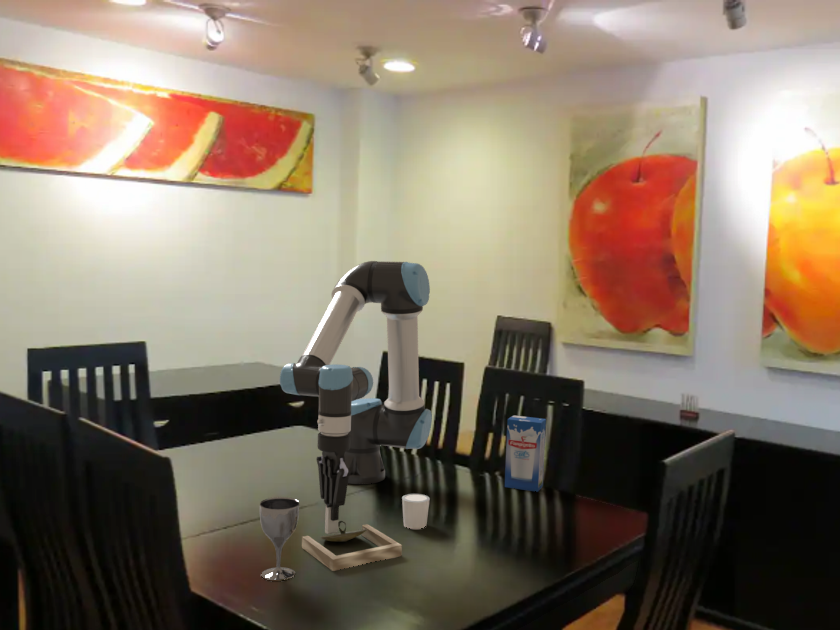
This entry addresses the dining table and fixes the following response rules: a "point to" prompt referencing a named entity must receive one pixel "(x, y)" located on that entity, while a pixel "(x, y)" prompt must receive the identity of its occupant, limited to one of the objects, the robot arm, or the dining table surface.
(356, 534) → the lid
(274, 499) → the wine glass
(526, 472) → the milk carton
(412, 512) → the white cup
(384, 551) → the wooden u-shaped frame
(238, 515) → the dining table surface
